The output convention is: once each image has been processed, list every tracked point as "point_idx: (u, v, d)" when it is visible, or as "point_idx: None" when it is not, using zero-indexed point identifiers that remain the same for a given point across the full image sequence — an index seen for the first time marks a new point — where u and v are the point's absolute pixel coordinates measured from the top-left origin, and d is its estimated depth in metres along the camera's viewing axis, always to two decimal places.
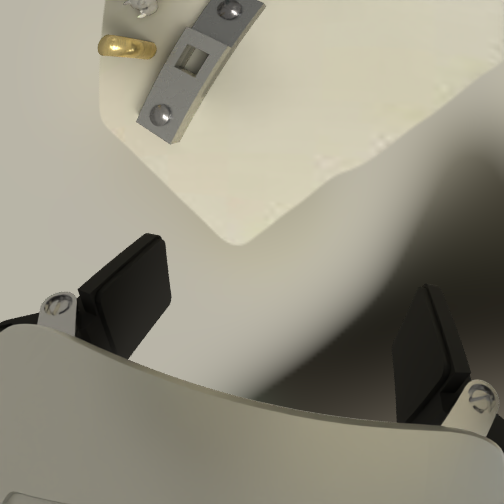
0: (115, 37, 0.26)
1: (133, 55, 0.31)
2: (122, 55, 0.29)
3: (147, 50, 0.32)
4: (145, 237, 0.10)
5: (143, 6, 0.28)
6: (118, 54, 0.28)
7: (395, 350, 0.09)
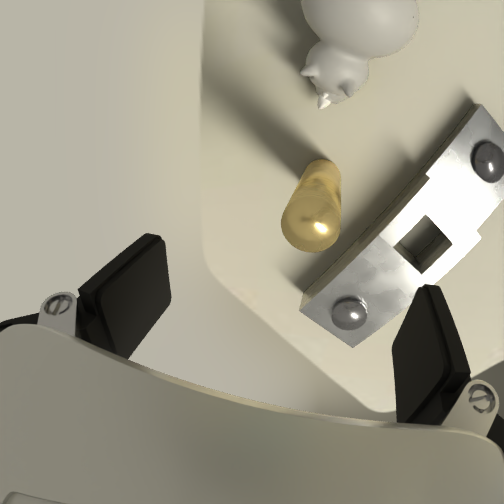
0: (337, 210, 0.14)
1: None
2: None
3: None
4: (145, 237, 0.10)
5: (345, 93, 0.16)
6: None
7: (395, 350, 0.09)
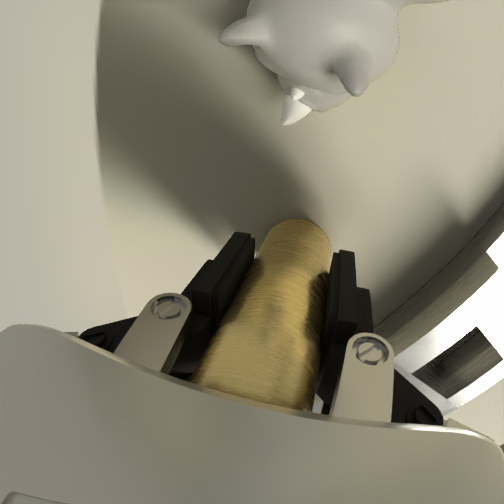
0: None
1: None
2: None
3: None
4: (238, 235, 0.10)
5: (343, 87, 0.06)
6: None
7: None
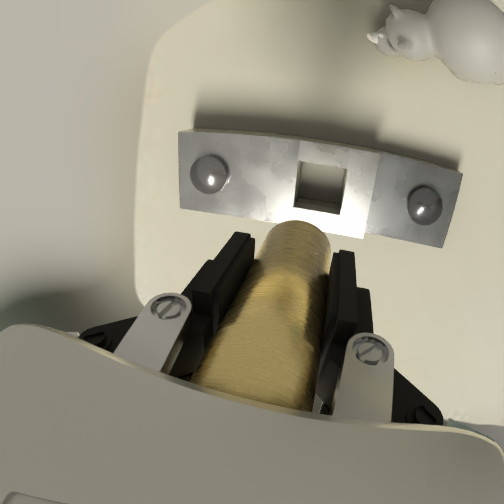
0: None
1: None
2: None
3: None
4: (238, 235, 0.10)
5: (395, 46, 0.14)
6: None
7: None
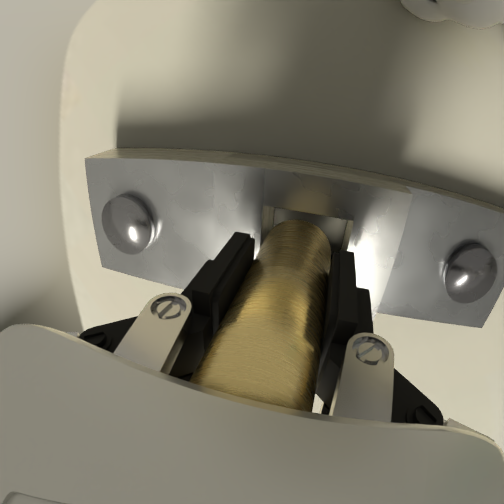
0: None
1: None
2: None
3: None
4: (238, 235, 0.10)
5: None
6: None
7: None
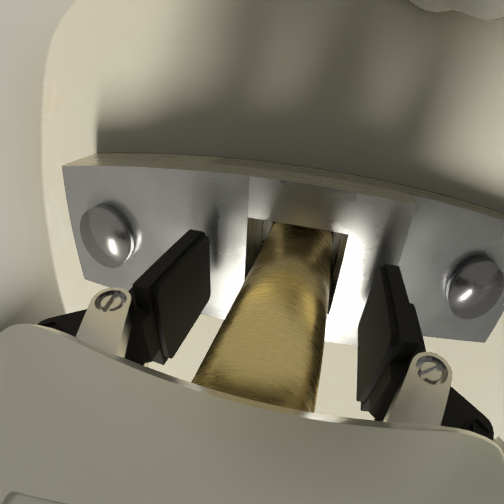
0: None
1: None
2: None
3: None
4: (191, 233, 0.10)
5: None
6: None
7: (360, 329, 0.10)
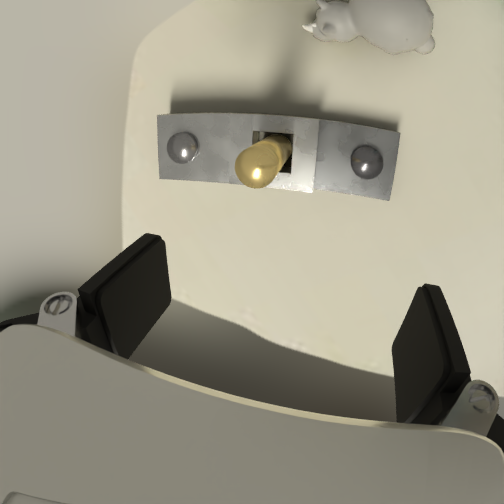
0: (274, 156, 0.20)
1: None
2: None
3: (288, 157, 0.26)
4: (145, 237, 0.10)
5: (324, 31, 0.19)
6: None
7: (395, 350, 0.09)
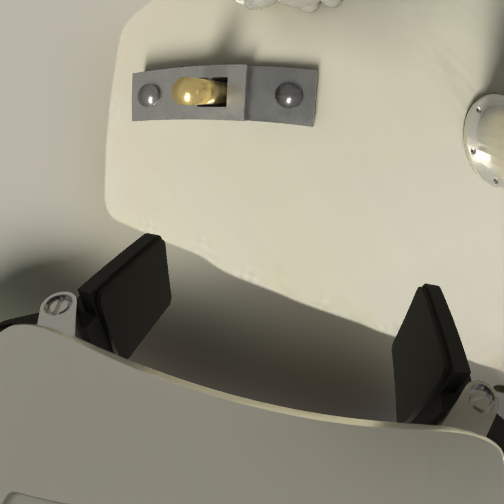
0: (197, 82, 0.25)
1: (211, 102, 0.30)
2: (200, 104, 0.28)
3: (224, 95, 0.31)
4: (145, 237, 0.10)
5: (247, 1, 0.23)
6: (198, 103, 0.27)
7: (395, 350, 0.09)
